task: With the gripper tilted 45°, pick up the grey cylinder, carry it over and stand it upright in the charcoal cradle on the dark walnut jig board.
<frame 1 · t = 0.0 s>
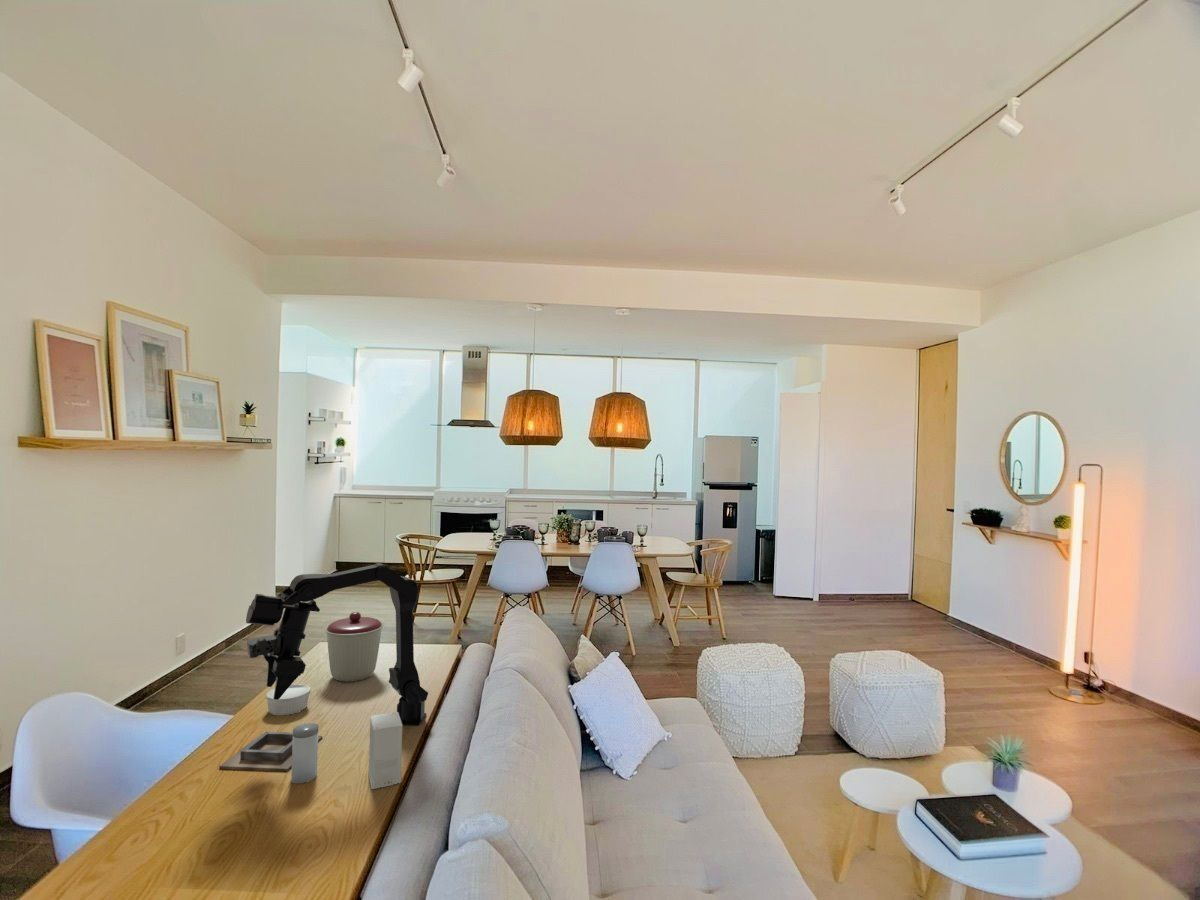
hand: (272, 692, 140), 15 cm above the table, tool pointing down, fingers open, 9 cm apart
small box: (384, 778, 132), on the table
canister: (353, 676, 192), on the table
grey cylinder: (304, 777, 132), on the table
ramekin: (288, 710, 166), on the table
jig board: (273, 752, 142), on the table
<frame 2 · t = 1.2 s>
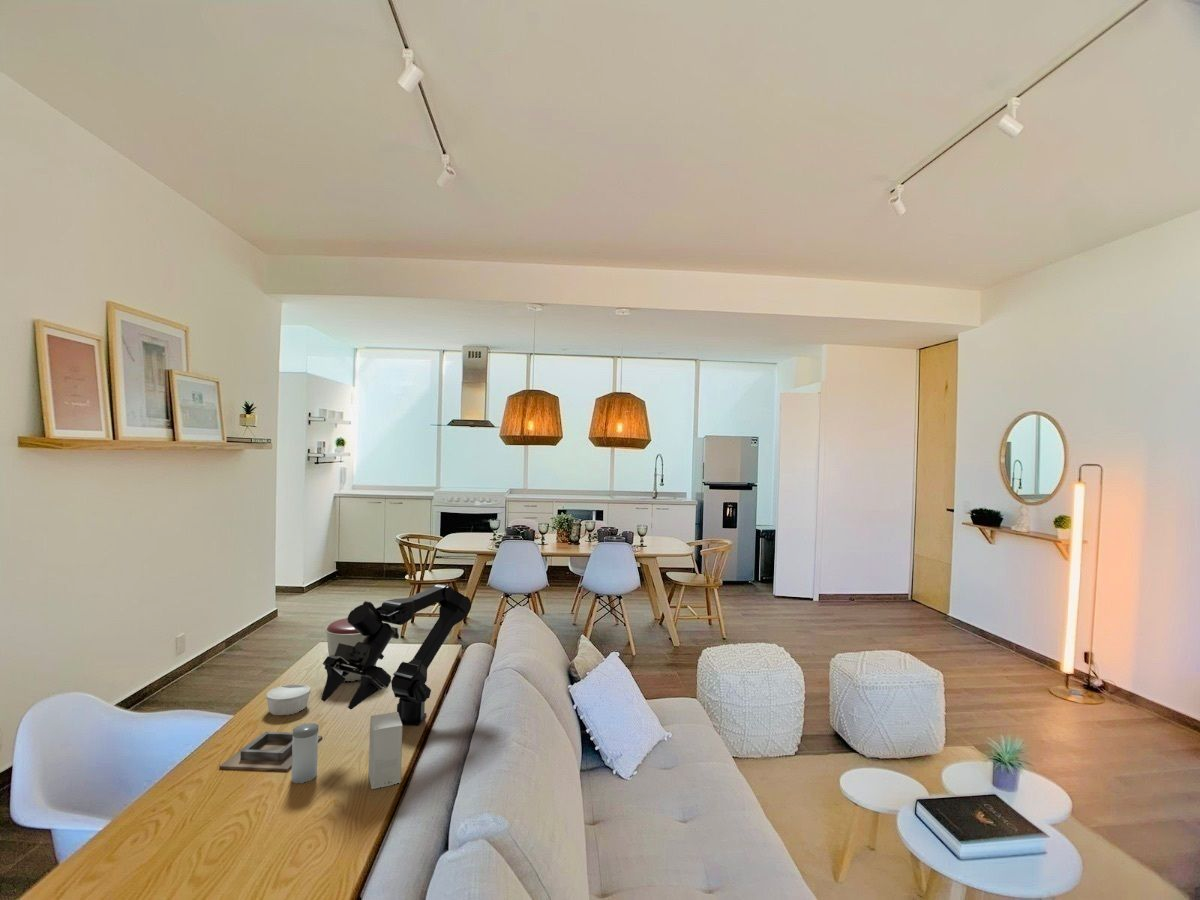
hand: (335, 704, 139), 13 cm above the table, tool tilted 45°, fingers open, 9 cm apart
nothing on the table moved.
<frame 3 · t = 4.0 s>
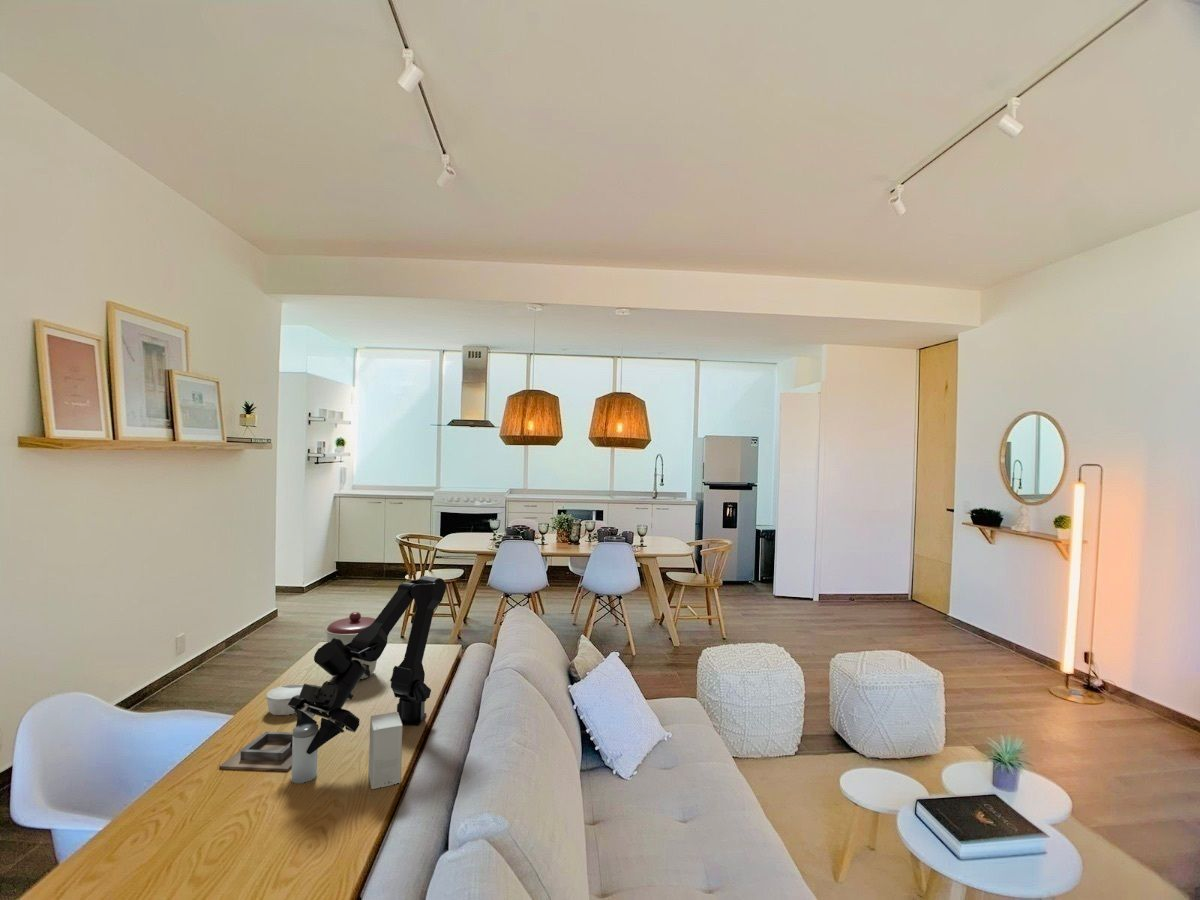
hand: (299, 750, 131), 7 cm above the table, tool tilted 45°, fingers closed on grey cylinder, 5 cm apart
grey cylinder: (304, 777, 132), on the table, touching gripper
everything else where it was.
when the fingers open (8 cm above the table, at t = 9.4 s): grey cylinder stays where it is, resting on jig board.
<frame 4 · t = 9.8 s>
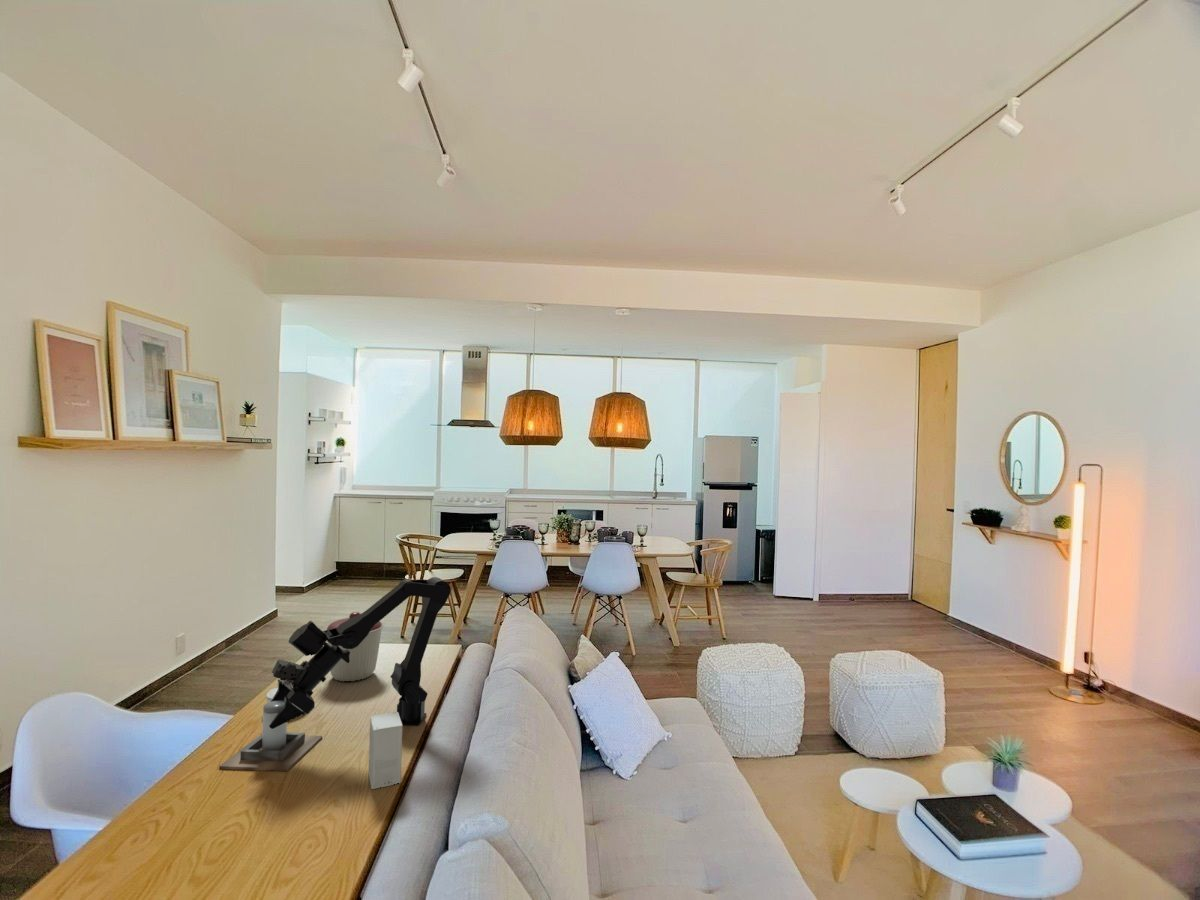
hand: (268, 720, 141), 8 cm above the table, tool tilted 45°, fingers open, 9 cm apart
grey cylinder: (273, 750, 142), point 1 cm above the table, touching jig board
everything else where it was.
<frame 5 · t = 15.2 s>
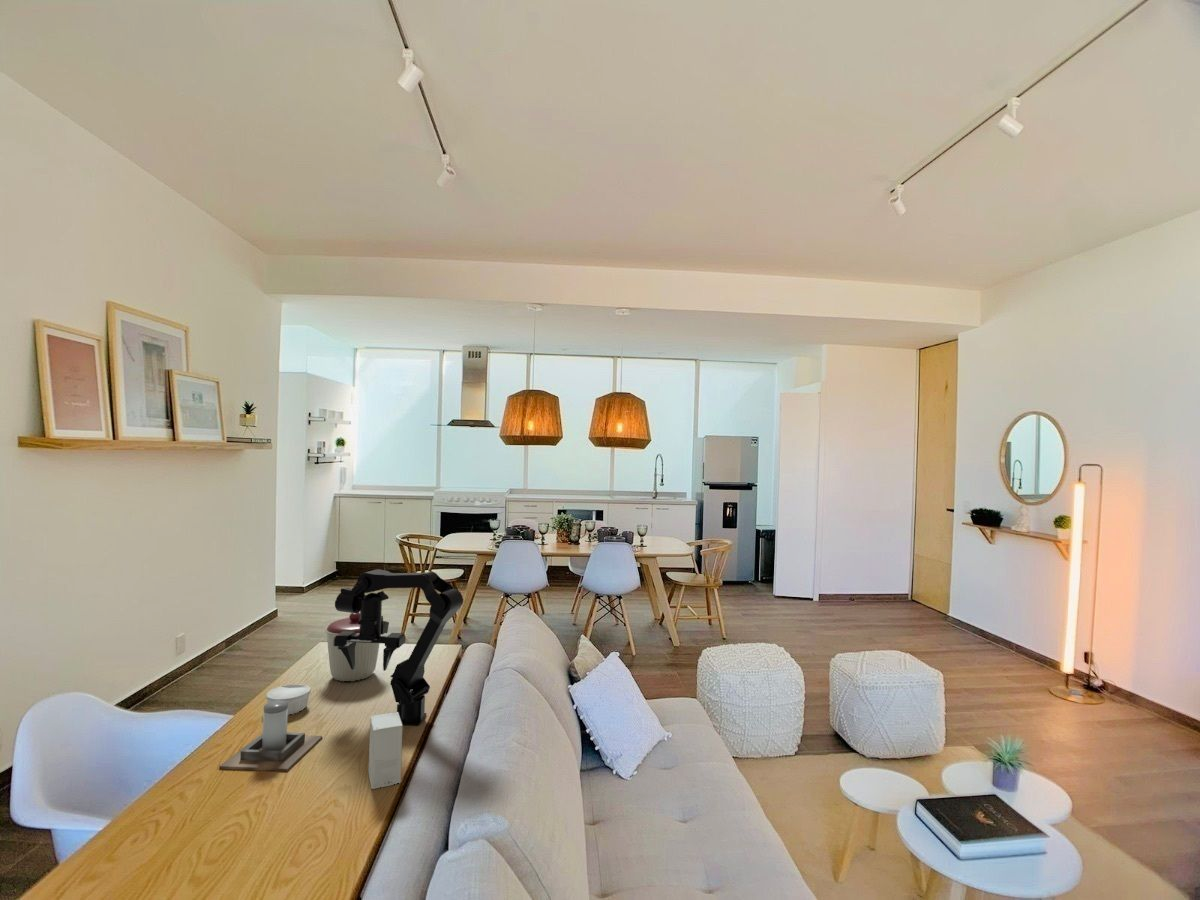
hand: (368, 669, 166), 12 cm above the table, tool pointing down, fingers open, 9 cm apart
nothing on the table moved.
at the end: grey cylinder 0.1 cm off-centre on the jig board, point 0.6 cm above the jig board's base; grey cylinder tilted 1°; the gripper is holding nothing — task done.
